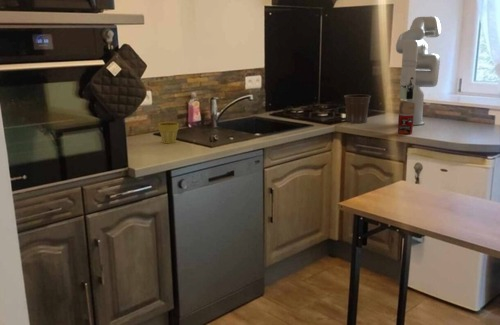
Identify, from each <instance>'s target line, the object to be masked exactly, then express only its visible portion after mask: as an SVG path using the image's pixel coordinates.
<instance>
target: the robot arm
mask: <svg viewBox="0 0 500 325" xmlns="http://www.w3.org/2000/svg"><path fill="white" fill-rule="evenodd" d="M441 32H442V26H441V23H440V20H439V18H438V16H437V17H436V16H431V15H430V16H417V17H415V18H414V19H413V20H412V23H411V25H410V27H409V29H408V30H406V31H404V32H402V33H401V34H399V35H398V38H397V41H396V44H395V50H396V53H397V54H401V55H402V58H401V59H402V61H401V71H400V73H401V74H400V80H399V81H400V82H399V84H400V85H401V87H407V90H408V91H407V96H406V99H413V89H414V88H415V100H406V102H413V103H415V106H414V114H413V115H414V116H413V126H423V125H425V120H424V121H423V112H424V110H423V109H424V99H425V98H424V96H425V95H424V94H425V93H424V92H423V90H422V88H435V87H436V86H437V85H438V81H439V71H440V66H441V64H440V63H441V59H440V55H439V54H437V53H432V52H431V53H428V51H429V46H428V43H427V42H426V41H425V40H424V38H438V37H439V36H440V35H441ZM409 87H410V88H409Z"/></svg>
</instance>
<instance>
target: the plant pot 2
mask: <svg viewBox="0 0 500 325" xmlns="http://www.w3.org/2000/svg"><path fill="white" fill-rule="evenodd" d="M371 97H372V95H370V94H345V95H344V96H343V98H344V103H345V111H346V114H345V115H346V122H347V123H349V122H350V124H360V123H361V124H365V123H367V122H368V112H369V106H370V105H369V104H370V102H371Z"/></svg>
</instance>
